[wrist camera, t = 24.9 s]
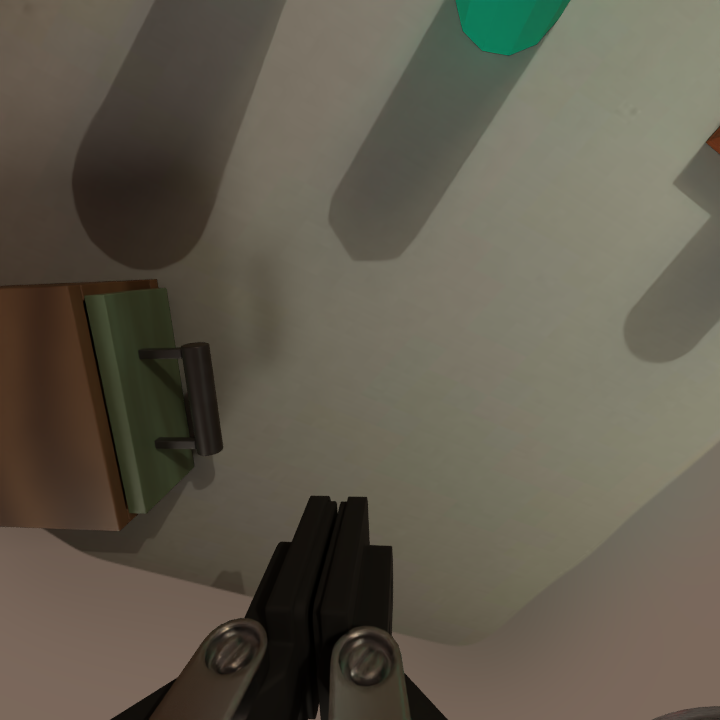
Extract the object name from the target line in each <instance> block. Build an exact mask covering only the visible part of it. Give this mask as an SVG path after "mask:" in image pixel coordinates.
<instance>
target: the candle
mask: <svg viewBox="0 0 720 720" xmlns="http://www.w3.org/2000/svg"><path fill="white" fill-rule="evenodd" d="M569 2H570V0H456V5H457V9H458V13H459V17H460V22H461V26H462V30H463V32H464V33H465V34H466V35H467V36H468V37H469V38H470V39H471V40H472V41H473V42H474V43H475V44H476V45H477V46H478V47H479V48H480V49H481V50H482V51H486V52H492V53H497V54H503V55H508V56H509V55H512V54H514V53H517V52H519V51H522V50H524V49H526V48H529V47H531V46H534V45H536V44H537V43H538V42H539V41H540V40H541V39H542V38H543V36H544V35H545V34H546V33H547V32H548V31H549V29H550V28H551V27H552V26H553V25H554V24H555V22H556V21H557V20H558V19H559V17H560V16H561V14H562V13H563V11H564V9H565V8H566V6H567V5H568V3H569Z"/></svg>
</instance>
